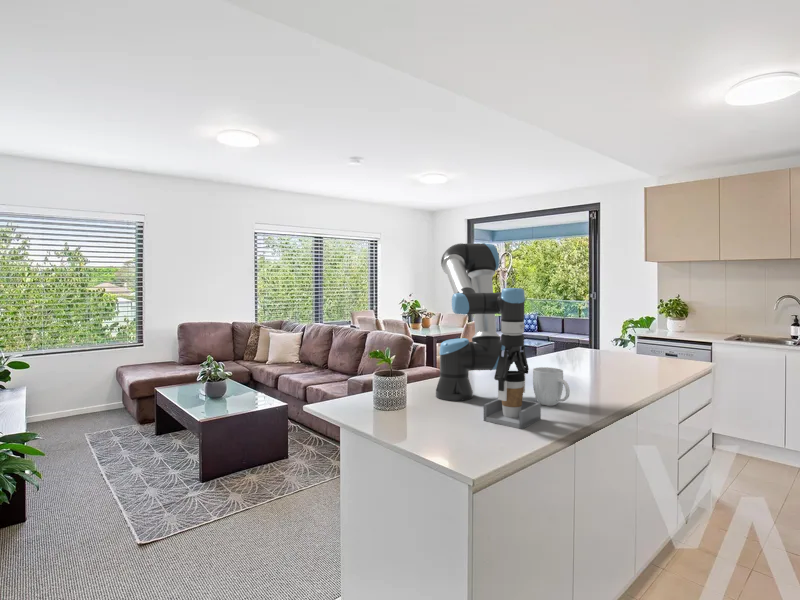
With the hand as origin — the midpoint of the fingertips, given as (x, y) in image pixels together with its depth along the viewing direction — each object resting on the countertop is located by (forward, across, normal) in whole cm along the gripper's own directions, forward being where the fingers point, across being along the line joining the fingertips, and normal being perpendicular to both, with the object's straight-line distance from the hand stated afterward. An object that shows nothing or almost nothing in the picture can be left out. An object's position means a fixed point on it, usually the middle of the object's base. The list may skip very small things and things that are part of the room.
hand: (512, 396), depth 156 cm
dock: (+8, 0, 0) cm, 8 cm away
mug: (+8, +27, -2) cm, 28 cm away
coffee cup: (+7, 0, 0) cm, 7 cm away
